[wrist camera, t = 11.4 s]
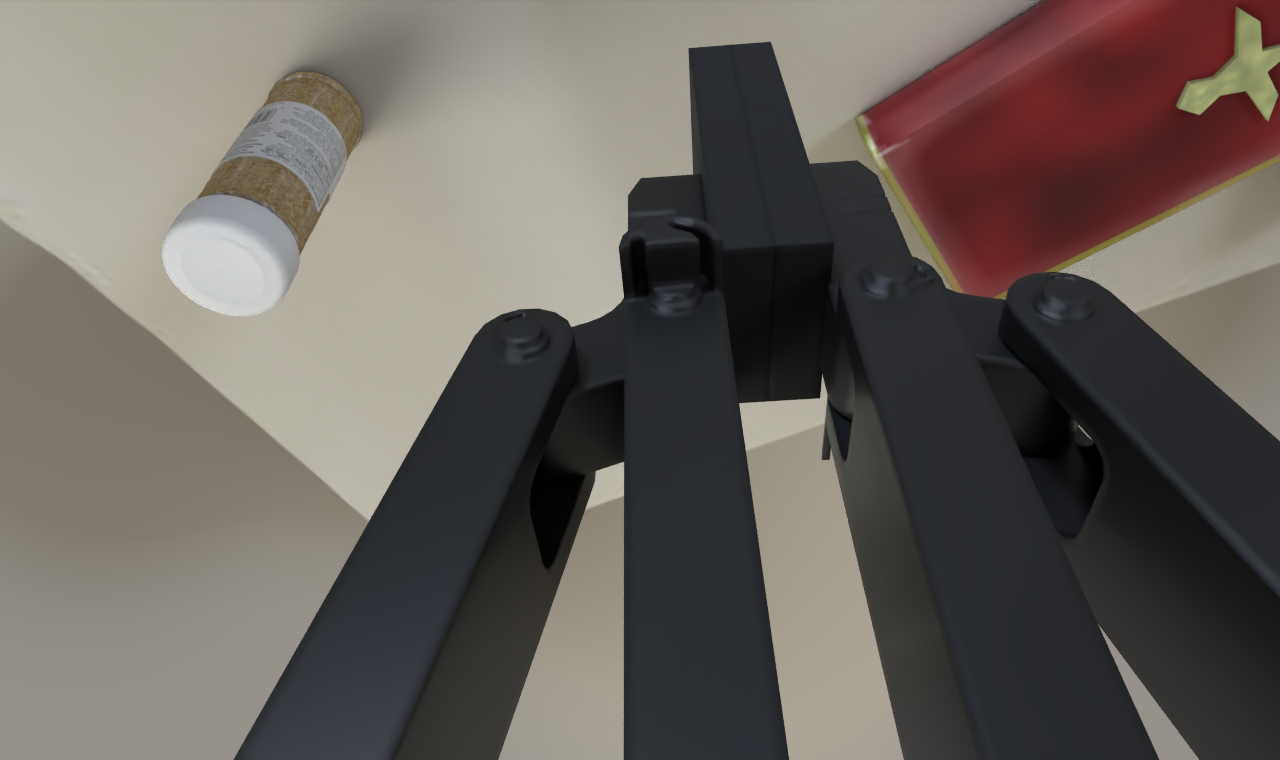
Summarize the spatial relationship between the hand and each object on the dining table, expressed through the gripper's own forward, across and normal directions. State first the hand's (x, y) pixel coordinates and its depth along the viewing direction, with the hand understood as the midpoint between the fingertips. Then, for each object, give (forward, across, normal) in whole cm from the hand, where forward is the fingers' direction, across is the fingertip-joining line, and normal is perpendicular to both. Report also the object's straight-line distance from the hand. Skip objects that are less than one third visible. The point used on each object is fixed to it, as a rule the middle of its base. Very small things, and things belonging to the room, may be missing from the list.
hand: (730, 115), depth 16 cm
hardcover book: (+25, +20, -12) cm, 34 cm away
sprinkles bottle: (+25, -18, -10) cm, 32 cm away
